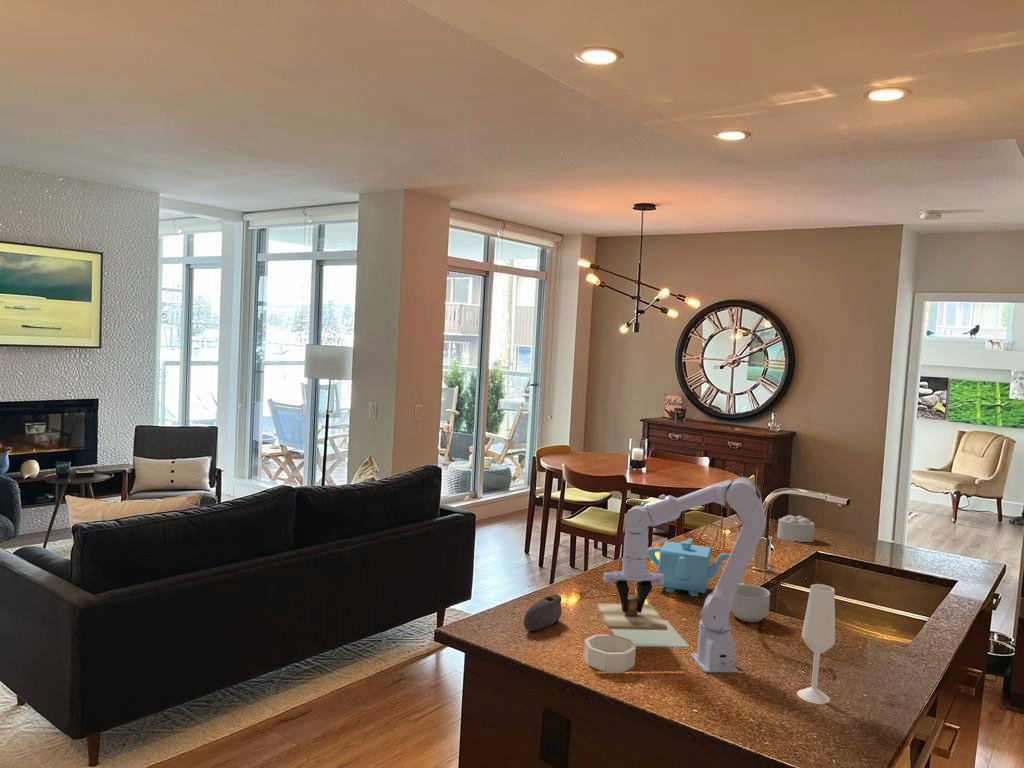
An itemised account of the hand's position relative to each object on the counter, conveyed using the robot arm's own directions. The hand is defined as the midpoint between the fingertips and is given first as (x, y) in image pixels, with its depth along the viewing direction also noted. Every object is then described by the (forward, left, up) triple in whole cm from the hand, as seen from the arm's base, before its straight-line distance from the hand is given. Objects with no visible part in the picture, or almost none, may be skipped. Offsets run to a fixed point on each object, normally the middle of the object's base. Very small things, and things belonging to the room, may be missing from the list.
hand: (631, 611), depth 189 cm
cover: (0, 0, -2) cm, 2 cm away
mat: (+8, -7, -9) cm, 14 cm away
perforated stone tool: (+13, +19, -9) cm, 25 cm away
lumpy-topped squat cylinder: (+104, -97, -9) cm, 143 cm away
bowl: (-9, +7, -9) cm, 15 cm away
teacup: (+21, -40, -9) cm, 46 cm away
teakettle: (+42, -30, -9) cm, 52 cm away
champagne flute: (-26, -34, -9) cm, 44 cm away
